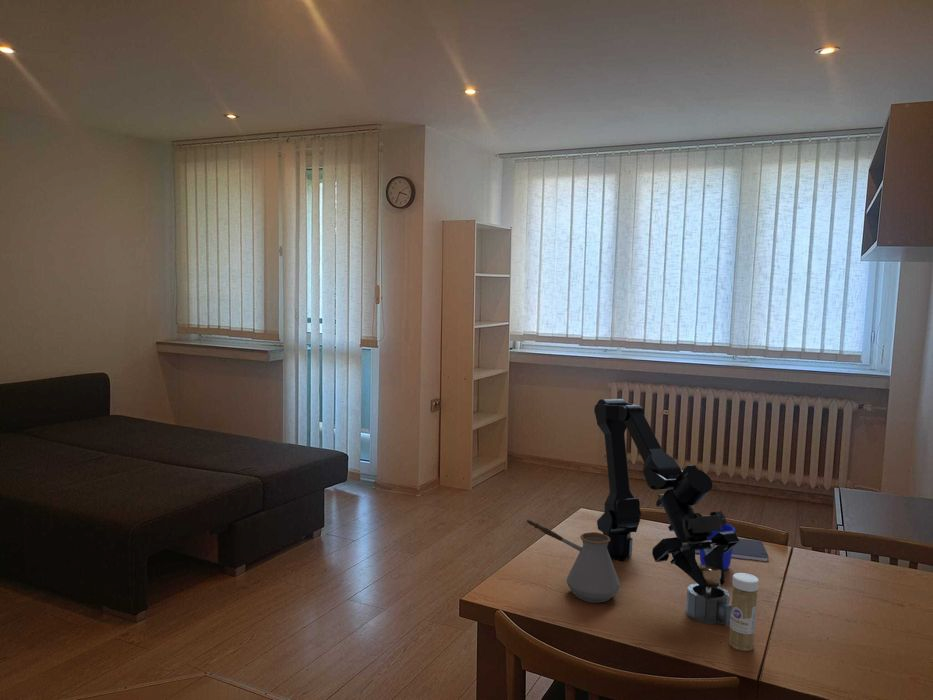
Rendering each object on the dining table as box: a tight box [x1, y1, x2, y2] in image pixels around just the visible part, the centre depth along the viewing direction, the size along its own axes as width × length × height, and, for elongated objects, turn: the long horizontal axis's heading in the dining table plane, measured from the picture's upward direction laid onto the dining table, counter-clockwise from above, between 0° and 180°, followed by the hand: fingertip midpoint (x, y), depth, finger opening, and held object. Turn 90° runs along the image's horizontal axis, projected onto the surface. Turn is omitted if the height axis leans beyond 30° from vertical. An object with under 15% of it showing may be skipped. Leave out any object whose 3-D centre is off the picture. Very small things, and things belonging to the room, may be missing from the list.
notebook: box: [695, 537, 769, 562], centre depth 182 cm, size 13×2×21 cm
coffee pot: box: [523, 519, 621, 603], centre depth 151 cm, size 21×12×15 cm, turn 75°
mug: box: [699, 523, 736, 571], centre depth 170 cm, size 8×12×10 cm
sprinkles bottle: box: [728, 572, 760, 652], centre depth 130 cm, size 5×5×14 cm
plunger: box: [698, 564, 721, 597], centre depth 142 cm, size 4×4×8 cm
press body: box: [685, 582, 732, 627], centre depth 142 cm, size 10×8×5 cm
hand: (713, 585), depth 141 cm, fingers closed on plunger, 4 cm apart
